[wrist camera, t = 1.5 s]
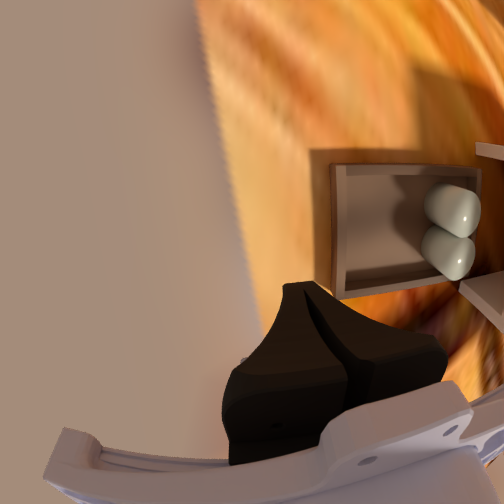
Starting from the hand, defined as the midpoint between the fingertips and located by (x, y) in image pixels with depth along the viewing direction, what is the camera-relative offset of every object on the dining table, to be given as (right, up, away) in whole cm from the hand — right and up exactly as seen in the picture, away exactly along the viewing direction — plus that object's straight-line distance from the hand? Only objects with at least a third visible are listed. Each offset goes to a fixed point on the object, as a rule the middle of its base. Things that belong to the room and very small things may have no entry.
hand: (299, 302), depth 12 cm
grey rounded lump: (+14, +6, +7) cm, 17 cm away
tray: (+11, +5, +9) cm, 15 cm away
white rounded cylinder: (+14, +3, +9) cm, 17 cm away
